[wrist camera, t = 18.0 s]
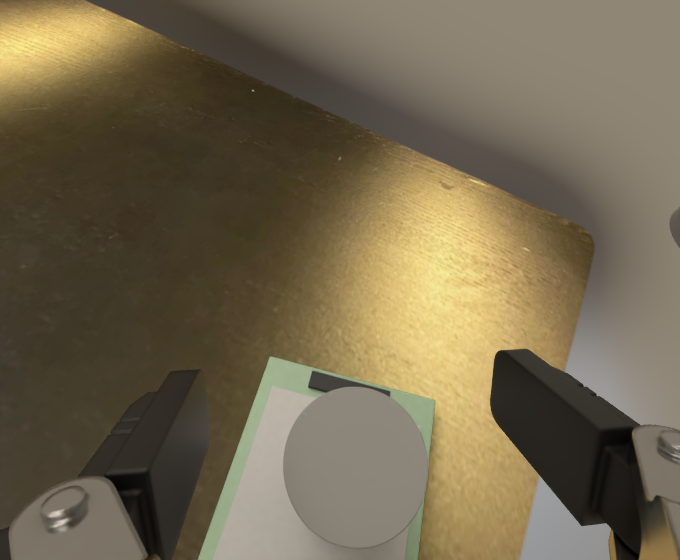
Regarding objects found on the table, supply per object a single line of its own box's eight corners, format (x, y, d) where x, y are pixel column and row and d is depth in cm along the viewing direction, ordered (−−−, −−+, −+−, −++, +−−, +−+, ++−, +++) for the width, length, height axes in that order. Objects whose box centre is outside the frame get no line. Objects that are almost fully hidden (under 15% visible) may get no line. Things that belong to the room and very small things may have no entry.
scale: (427, 406, 30) (439, 397, 28) (399, 633, 23) (411, 651, 20) (272, 365, 31) (269, 352, 28) (200, 572, 24) (186, 582, 21)
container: (279, 487, 24) (244, 474, 11) (326, 426, 26) (343, 354, 13) (337, 542, 23) (374, 599, 10) (381, 473, 25) (460, 446, 12)
